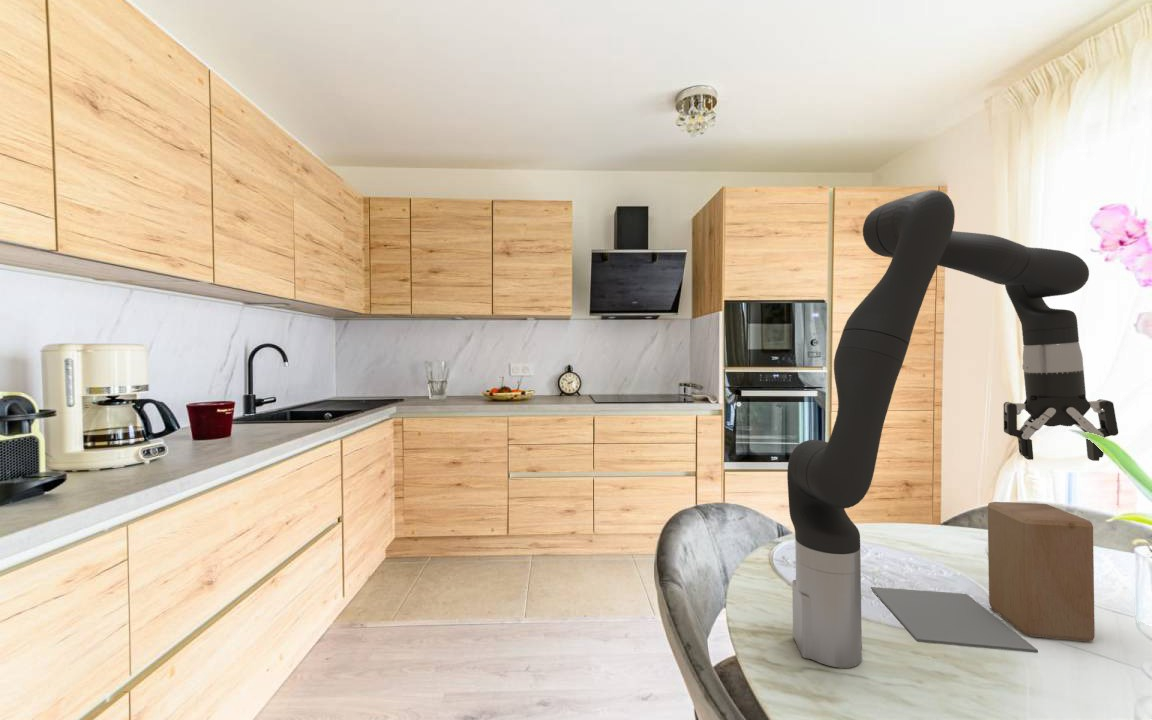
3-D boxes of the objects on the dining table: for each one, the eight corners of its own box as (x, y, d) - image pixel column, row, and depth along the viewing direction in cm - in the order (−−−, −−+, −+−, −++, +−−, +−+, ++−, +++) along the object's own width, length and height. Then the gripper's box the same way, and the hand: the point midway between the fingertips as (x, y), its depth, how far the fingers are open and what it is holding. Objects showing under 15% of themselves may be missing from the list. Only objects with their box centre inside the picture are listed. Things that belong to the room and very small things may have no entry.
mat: (917, 641, 77) (916, 638, 77) (870, 588, 95) (870, 586, 95) (1037, 652, 74) (1037, 649, 74) (966, 595, 92) (966, 593, 92)
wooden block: (1098, 644, 76) (1096, 521, 76) (1025, 638, 78) (1024, 517, 78) (1049, 612, 85) (1048, 502, 85) (986, 607, 87) (984, 499, 87)
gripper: (1008, 373, 84) (1016, 463, 84) (1121, 367, 77) (1129, 465, 77) (993, 370, 90) (1001, 454, 90) (1097, 365, 84) (1105, 455, 84)
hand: (1060, 459), depth 84 cm, fingers open, 8 cm apart
